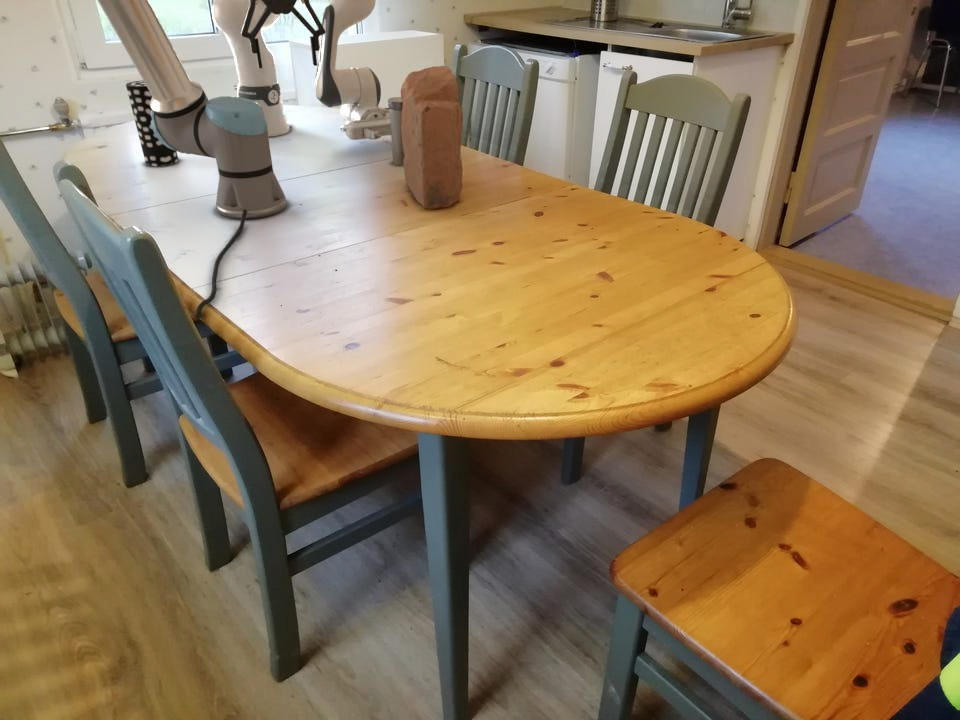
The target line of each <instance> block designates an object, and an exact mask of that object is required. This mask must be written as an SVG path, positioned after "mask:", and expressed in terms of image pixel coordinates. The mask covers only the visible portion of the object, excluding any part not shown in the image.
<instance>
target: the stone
mask: <svg viewBox="0 0 960 720" xmlns="http://www.w3.org/2000/svg"><path fill="white" fill-rule="evenodd" d="M400 97H401V98H402V101H403V108H402V124H401V131H402V144H403V151H404V154H405V157H404V160H403V163H404V166H403V173H404V179H405V182H406V186H407V187H408V188H409V190H410V192H411V193H412V194H413V196H414V198H415V200H416V201H417V202H418V204H420V205H422V206H421V207H423V208H424V209H427V210H428V209H429V210H434V209H437V208H439V209H440V208H448V207H451V206H452V205H454V204H455V203H457V202H458V201H459V200H460V197H461V192H462V188H463V160H462V152H461V148H462V133H463V132H462V131H463V121H464V107H463V106H461V105H460V101H459V98H460V97H459V86H458V82H457V78H456V75H455V74H454V73H453V71H452V69H450V68H449V66H446V65H435V66H431V67H426V68H423V69H421V70H415V71H414V70H413V71H411V72H410V73H408V75H407V76H406V77H405V79H404V81H403V83H402V85H401V87H400Z"/></svg>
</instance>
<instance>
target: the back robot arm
mask: <svg viewBox="0 0 960 720" xmlns="http://www.w3.org/2000/svg"><path fill="white" fill-rule="evenodd" d="M376 1H377V0H331V1H330V3H329V5H327V6H326V7H325V8H324V10H323V14H322V18H321V24H322V26H323V28H324V30H325V34H322V35H320V36H319V46H320V50H319V51H318V59H317V67H316V73H315V79H314V92H315V96H316V99H317V100H318V101H319V102H320V103H321V104H323V106H326V107H327V108H334V107H340V116H341V118H342V120H343V122H344V124H343V125H341V126H340V127H339V129H340V131H342V132H345V135H346V137H347V138H348V139H350V140H352V141H357V140H365V139H366V140H367V139H369V140H378V139H380V138H382V137H386V136H387V137H388V136H391V125H390V108H389V107H381V106H379V105H380V102H381V98H382V87H381V82H380V79H379V78H378V76H377V75H376V73H375V72H374V71H373V70H372V69H371V68H370V67H368V66H365V67H363V66H362V67H361V66H360V67H350V68H349V67H348V68H336V66H337V65H336V64H337V55H338V54H337V53H338V43H339V40H340V39H339V38H340V36H341V35H342V34H343V33H344V31H346V30H348V29H349V28H350V27H352V26H354V25H357V24H359V23H361V22H363V21H364V20H365V19H367V18H369V16H370V15H371V14H372V12H373V11H374V9H375V7H376ZM249 5H250V0H214V2H213V4H212V8H211V15H212V20H213V22H214V24H215V26H216V27H217V29H219V30H220V32H222V33H223V35H224V36H225V38H226V40H227V42H228V44H229V46H230V49H231V52H232V55H233V58H234V63H235V67H236V73H237V78H238V79H237V80H238V84H236V85H233V87H235V88H234V90H235V91H237V92H236V97H241V98H246V99H249V100H252V101H255V102H256V103H258V104H259V105H260V106H261V107H262V109H263V112H264V116H265V120H266V122H267V130H268V137H270V138H271V137H277V136H281V135H284V134H287V133H288V132H290V130H291V129H290V127H291V124H290V122H289V121H288V118H287V114H286V111H287V107H286V105H284V102H283V99H281V95H282V94H281V86H280V82H279V81H278V77H277V69H276V62H275V56H274V53H273V52H272V51H271V50H270V49H269V48H268V46H267V44H266V41H265V39H264V35H263V33H262V31H265V30H268V29H269V28H271V27H272V26H274V24H276V23H277V21H278V20H279V19H280V15H281V14H278V15H275V14H273V13H272V12H271V14H270V15H269V17H268V18H267V20H266V21H265V23H264V24H263V26H262V27H261V29H260V31H259V32H258V34H257V35H256V37H255V38H258V42H259V49H260V55H261V62H262V68H259V65H258V58H257V53H255V54H253V53H252V50H251V44H250V39H249V38H246V37H243V36H242V34H241V31H242V28H243V25H244V21H245V18H246V15H247V11H248V8H249ZM265 8H266V5H265V4H264V3H263V2H262V0H260V1H259V3H258V4H257V5H255V10H254V13H253V16H252V20H251V23H250V26H249V29H248V32H249V33H250V32H251V31H252V29H253V28H254V26H255V24H256V23H257V21H258V20H259V18H260V16H261V15H262V13H263V11H264V10H265Z"/></svg>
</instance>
